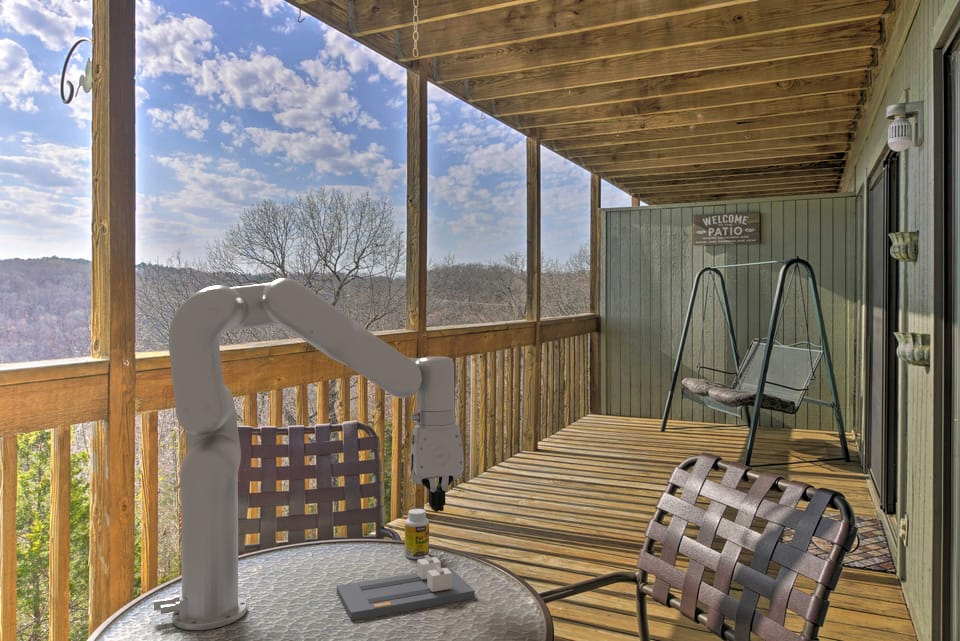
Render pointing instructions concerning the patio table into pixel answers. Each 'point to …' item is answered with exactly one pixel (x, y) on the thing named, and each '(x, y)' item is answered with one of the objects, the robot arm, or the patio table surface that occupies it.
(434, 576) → the tab near
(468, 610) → the patio table surface
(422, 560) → the tab far
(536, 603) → the patio table surface
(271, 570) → the patio table surface
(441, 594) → the switch panel
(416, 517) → the supplement bottle
